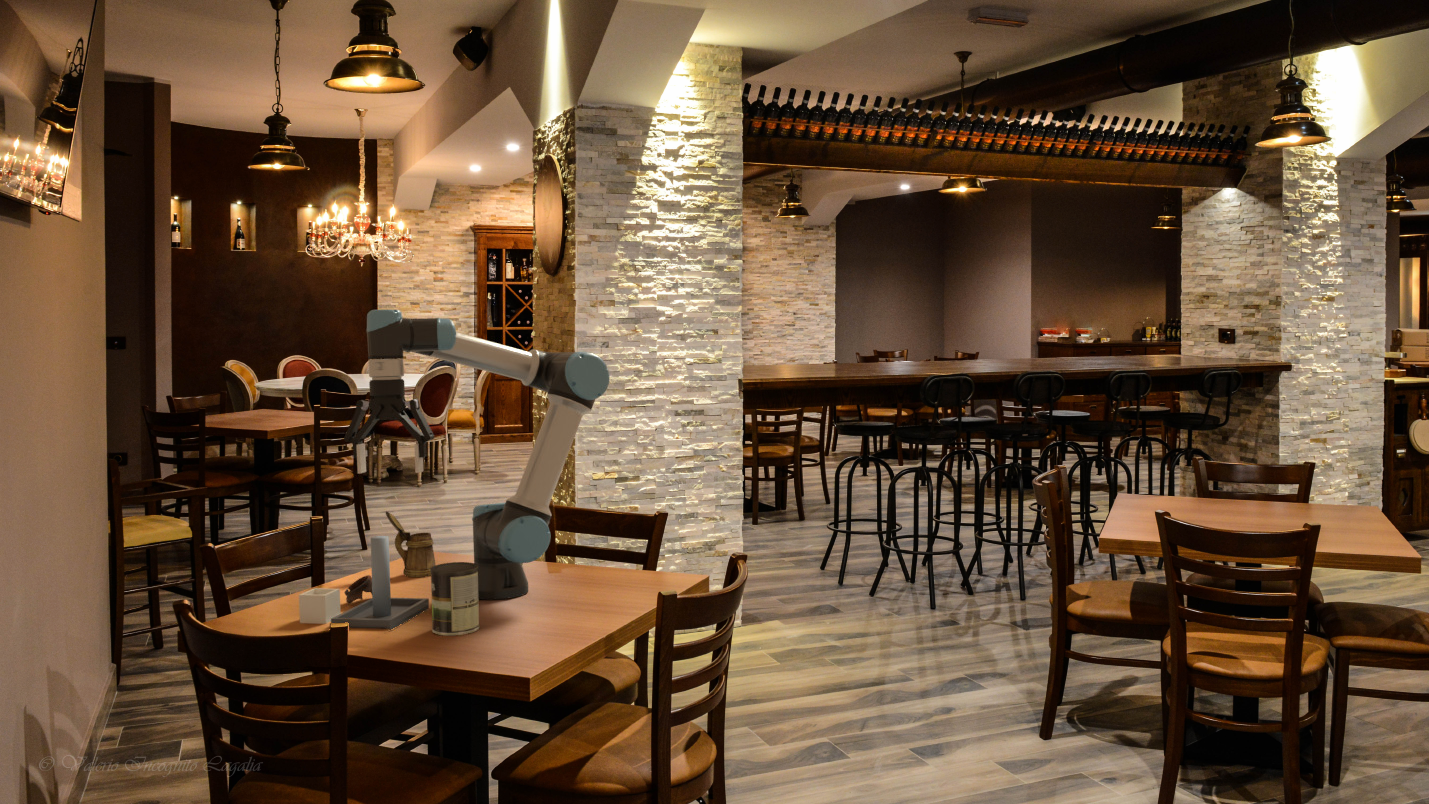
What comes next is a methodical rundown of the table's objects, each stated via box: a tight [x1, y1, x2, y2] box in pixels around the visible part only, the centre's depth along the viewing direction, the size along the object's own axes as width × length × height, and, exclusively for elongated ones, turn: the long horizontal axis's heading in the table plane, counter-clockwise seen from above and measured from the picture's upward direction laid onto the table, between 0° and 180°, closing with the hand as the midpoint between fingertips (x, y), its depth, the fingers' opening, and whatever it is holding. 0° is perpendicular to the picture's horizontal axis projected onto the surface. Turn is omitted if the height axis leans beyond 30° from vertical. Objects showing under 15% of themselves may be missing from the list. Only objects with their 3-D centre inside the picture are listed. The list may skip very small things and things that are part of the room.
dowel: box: [370, 535, 392, 617], centre depth 236 cm, size 4×4×18 cm
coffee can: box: [430, 561, 480, 637], centre depth 226 cm, size 10×10×14 cm
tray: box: [330, 597, 430, 630], centre depth 237 cm, size 14×20×2 cm
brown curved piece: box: [344, 574, 372, 605], centre depth 251 cm, size 12×10×8 cm
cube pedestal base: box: [298, 587, 341, 625], centre depth 235 cm, size 6×6×7 cm
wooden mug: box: [385, 511, 437, 578], centre depth 284 cm, size 9×14×18 cm, turn 99°
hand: (390, 472), depth 231 cm, fingers open, 13 cm apart
